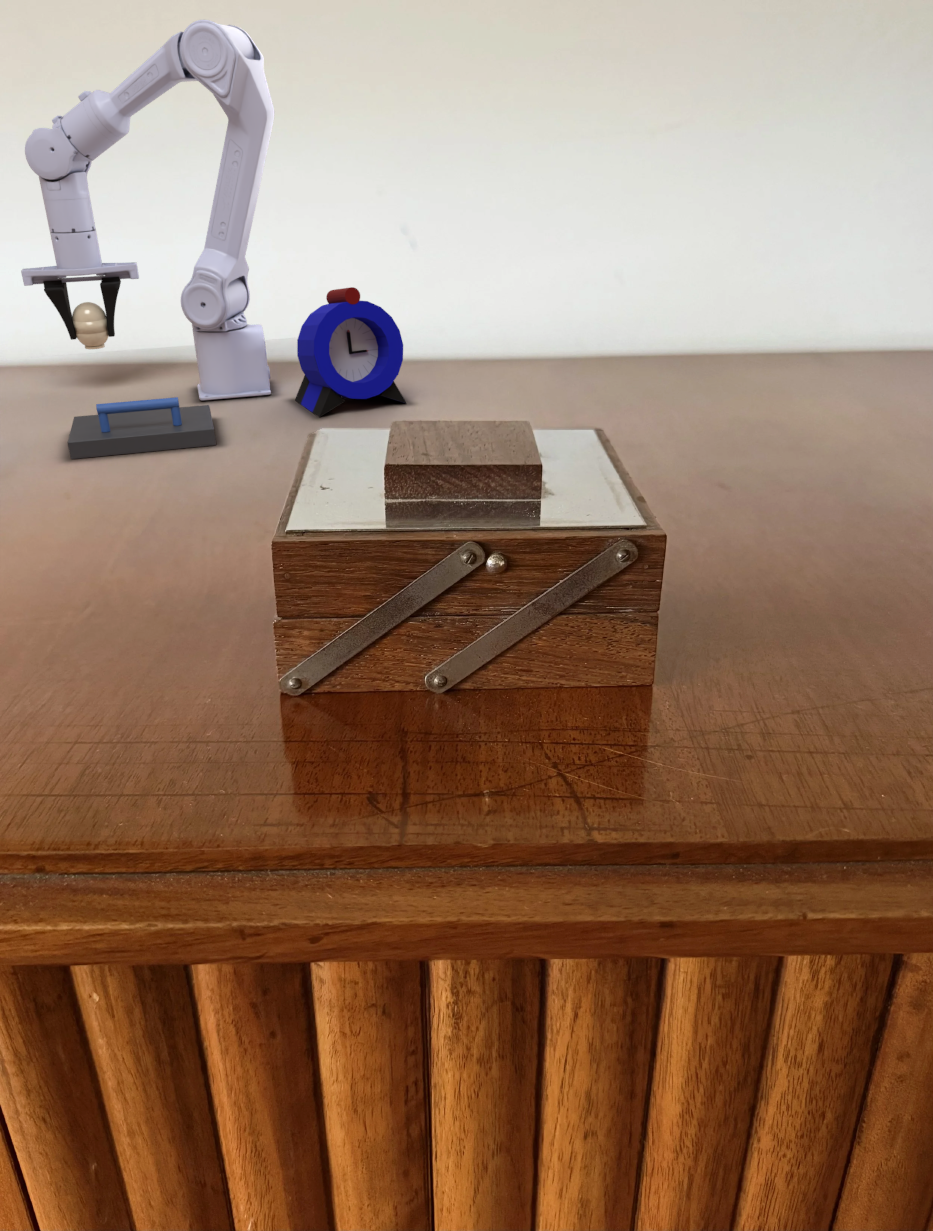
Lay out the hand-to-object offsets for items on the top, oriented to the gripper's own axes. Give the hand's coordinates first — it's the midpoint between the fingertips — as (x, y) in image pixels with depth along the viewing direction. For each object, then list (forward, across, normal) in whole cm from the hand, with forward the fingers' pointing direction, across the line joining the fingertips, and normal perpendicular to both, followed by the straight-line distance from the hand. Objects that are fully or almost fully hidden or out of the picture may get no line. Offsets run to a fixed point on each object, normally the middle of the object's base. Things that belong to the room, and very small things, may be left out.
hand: (93, 336), depth 135 cm
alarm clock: (+8, -32, +17) cm, 37 cm away
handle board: (+7, -6, +26) cm, 28 cm away
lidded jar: (+1, 0, 0) cm, 1 cm away
